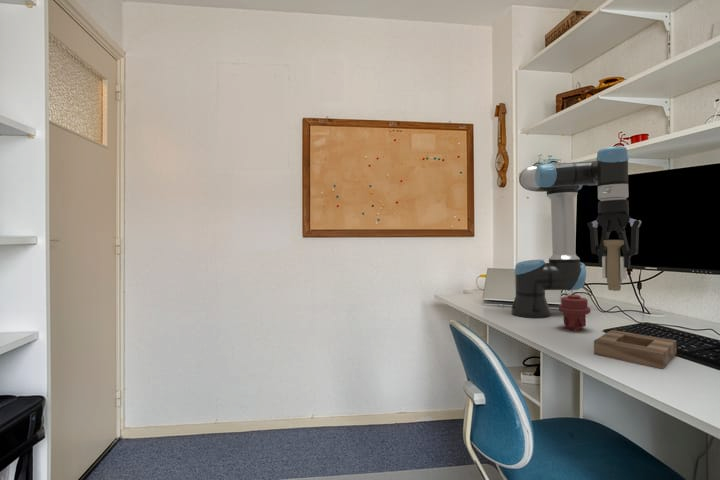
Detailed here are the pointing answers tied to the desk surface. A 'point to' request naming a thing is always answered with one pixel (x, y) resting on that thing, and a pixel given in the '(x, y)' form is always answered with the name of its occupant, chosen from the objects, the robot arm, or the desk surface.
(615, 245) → the handle
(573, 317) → the mechanical component
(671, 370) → the desk surface
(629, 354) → the socket block
